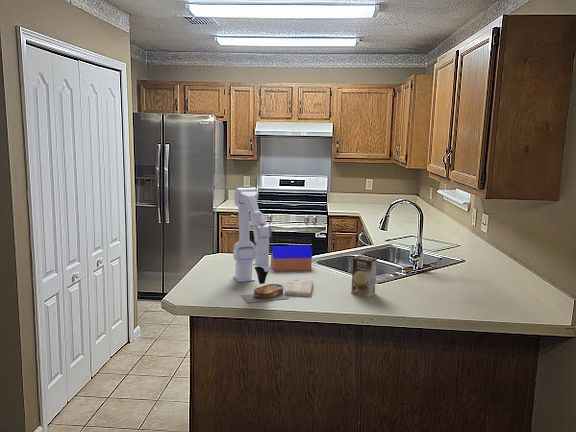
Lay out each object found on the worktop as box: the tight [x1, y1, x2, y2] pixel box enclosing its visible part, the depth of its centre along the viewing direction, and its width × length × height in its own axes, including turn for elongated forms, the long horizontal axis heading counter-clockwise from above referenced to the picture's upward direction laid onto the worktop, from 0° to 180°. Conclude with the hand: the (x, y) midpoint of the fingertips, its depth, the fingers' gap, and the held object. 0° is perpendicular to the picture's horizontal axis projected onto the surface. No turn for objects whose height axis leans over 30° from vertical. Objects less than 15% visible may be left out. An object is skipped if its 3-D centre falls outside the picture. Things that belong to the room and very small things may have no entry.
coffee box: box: [350, 254, 378, 298], centre depth 225 cm, size 9×6×16 cm
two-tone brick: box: [269, 245, 313, 272], centre depth 265 cm, size 12×20×12 cm, turn 100°
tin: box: [253, 283, 284, 299], centre depth 221 cm, size 15×3×8 cm
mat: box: [240, 292, 289, 304], centre depth 218 cm, size 10×18×1 cm, turn 111°
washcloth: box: [284, 279, 314, 298], centre depth 229 cm, size 12×18×3 cm, turn 175°
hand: (261, 283), depth 221 cm, fingers closed
